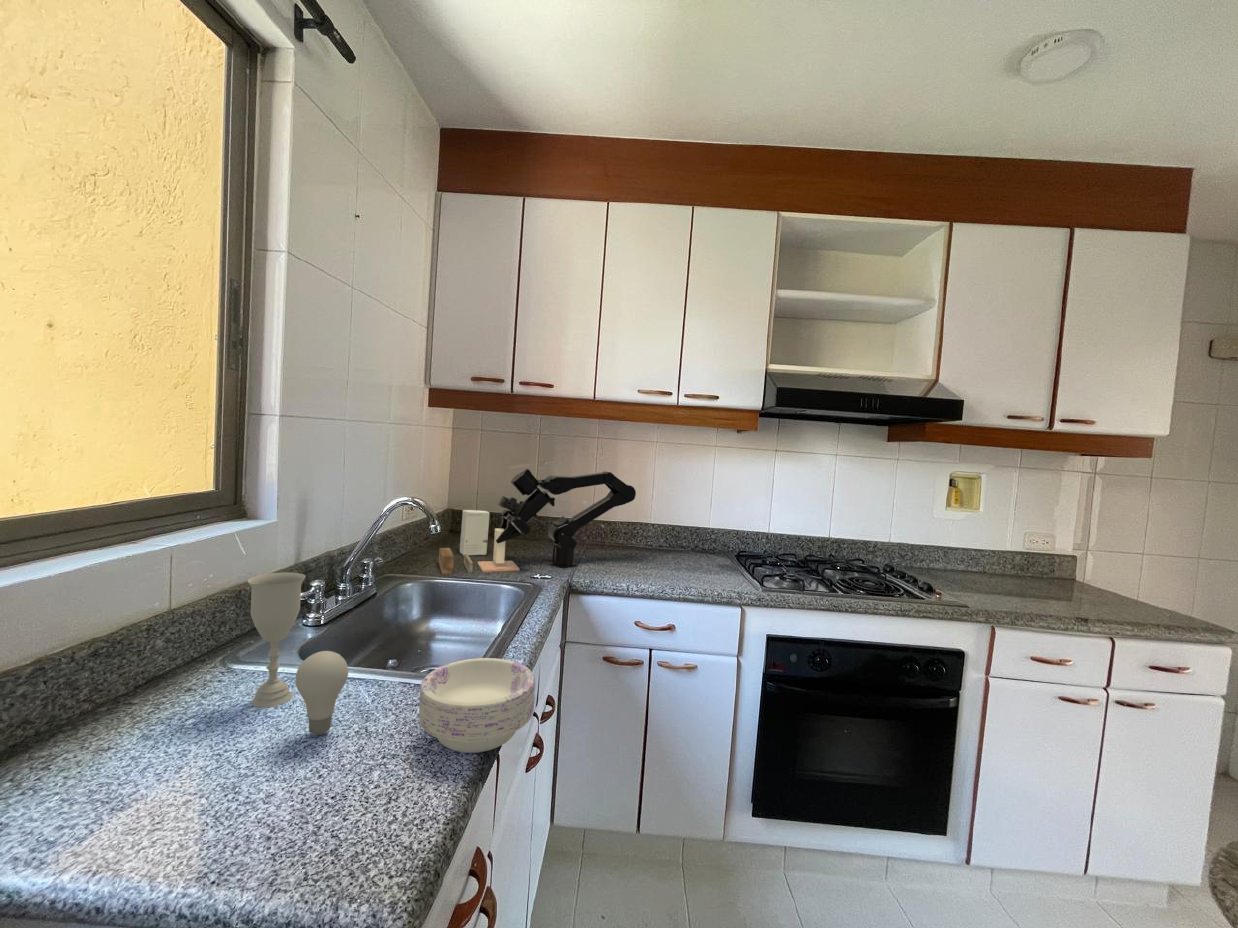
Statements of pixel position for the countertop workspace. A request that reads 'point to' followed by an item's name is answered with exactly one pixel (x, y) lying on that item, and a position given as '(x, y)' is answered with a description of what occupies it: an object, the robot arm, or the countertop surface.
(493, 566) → the terracotta pad
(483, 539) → the skincare box
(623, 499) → the robot arm
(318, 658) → the lightbulb
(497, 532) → the cream rectangular block
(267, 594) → the chalice
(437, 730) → the paper bowls
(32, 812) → the countertop surface
